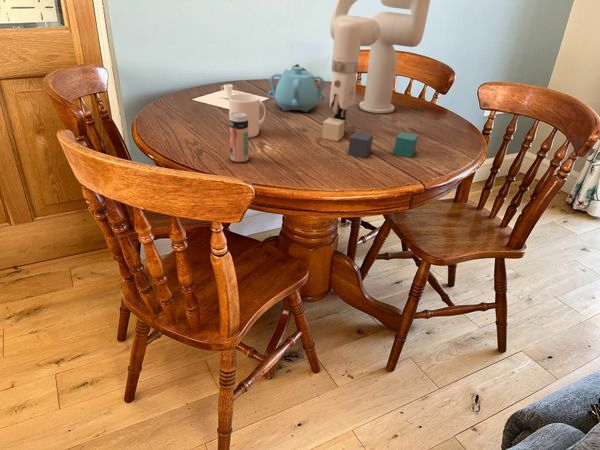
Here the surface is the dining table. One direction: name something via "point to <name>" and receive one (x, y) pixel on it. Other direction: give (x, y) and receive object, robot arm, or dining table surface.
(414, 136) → the teal block
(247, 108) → the mug
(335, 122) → the cream block
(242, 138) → the supplement bottle
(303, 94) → the decorative pot
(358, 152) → the slate block
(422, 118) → the dining table surface
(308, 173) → the dining table surface
